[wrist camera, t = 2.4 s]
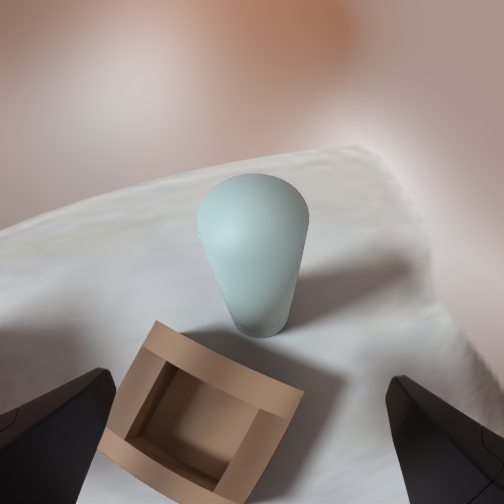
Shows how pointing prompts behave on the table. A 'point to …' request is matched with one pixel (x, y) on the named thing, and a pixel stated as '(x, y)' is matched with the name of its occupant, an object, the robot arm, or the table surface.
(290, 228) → the column
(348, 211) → the table surface
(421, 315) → the table surface
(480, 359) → the table surface
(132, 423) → the socket base
